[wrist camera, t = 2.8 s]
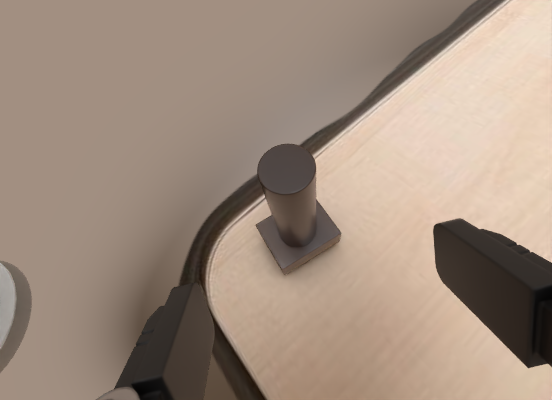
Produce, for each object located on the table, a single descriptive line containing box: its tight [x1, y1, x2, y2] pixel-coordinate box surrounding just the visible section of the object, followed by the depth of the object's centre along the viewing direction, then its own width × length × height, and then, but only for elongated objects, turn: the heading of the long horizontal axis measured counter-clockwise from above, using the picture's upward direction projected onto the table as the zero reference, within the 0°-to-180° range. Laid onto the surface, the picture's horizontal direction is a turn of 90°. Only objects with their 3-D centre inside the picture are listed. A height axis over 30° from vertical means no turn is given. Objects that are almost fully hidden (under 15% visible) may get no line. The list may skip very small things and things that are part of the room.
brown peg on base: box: [256, 144, 341, 275], centre depth 19 cm, size 5×4×12 cm
